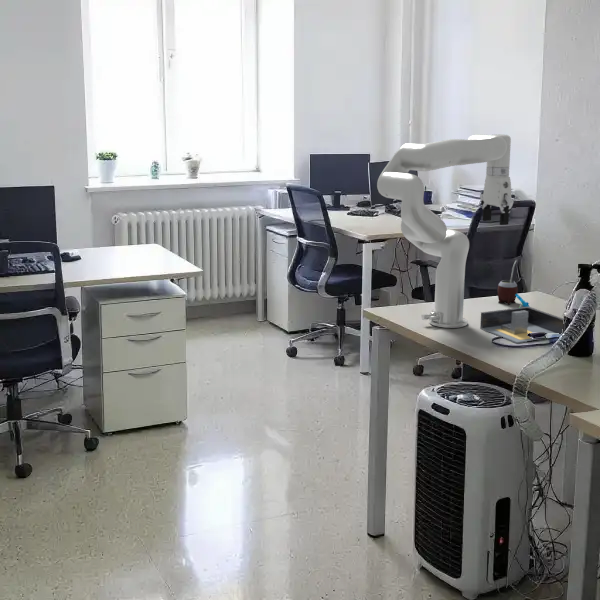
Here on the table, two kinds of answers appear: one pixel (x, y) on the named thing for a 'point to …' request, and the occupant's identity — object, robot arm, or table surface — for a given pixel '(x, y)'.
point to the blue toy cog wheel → (524, 304)
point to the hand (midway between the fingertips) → (495, 222)
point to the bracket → (517, 323)
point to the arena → (536, 323)
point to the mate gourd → (507, 290)
